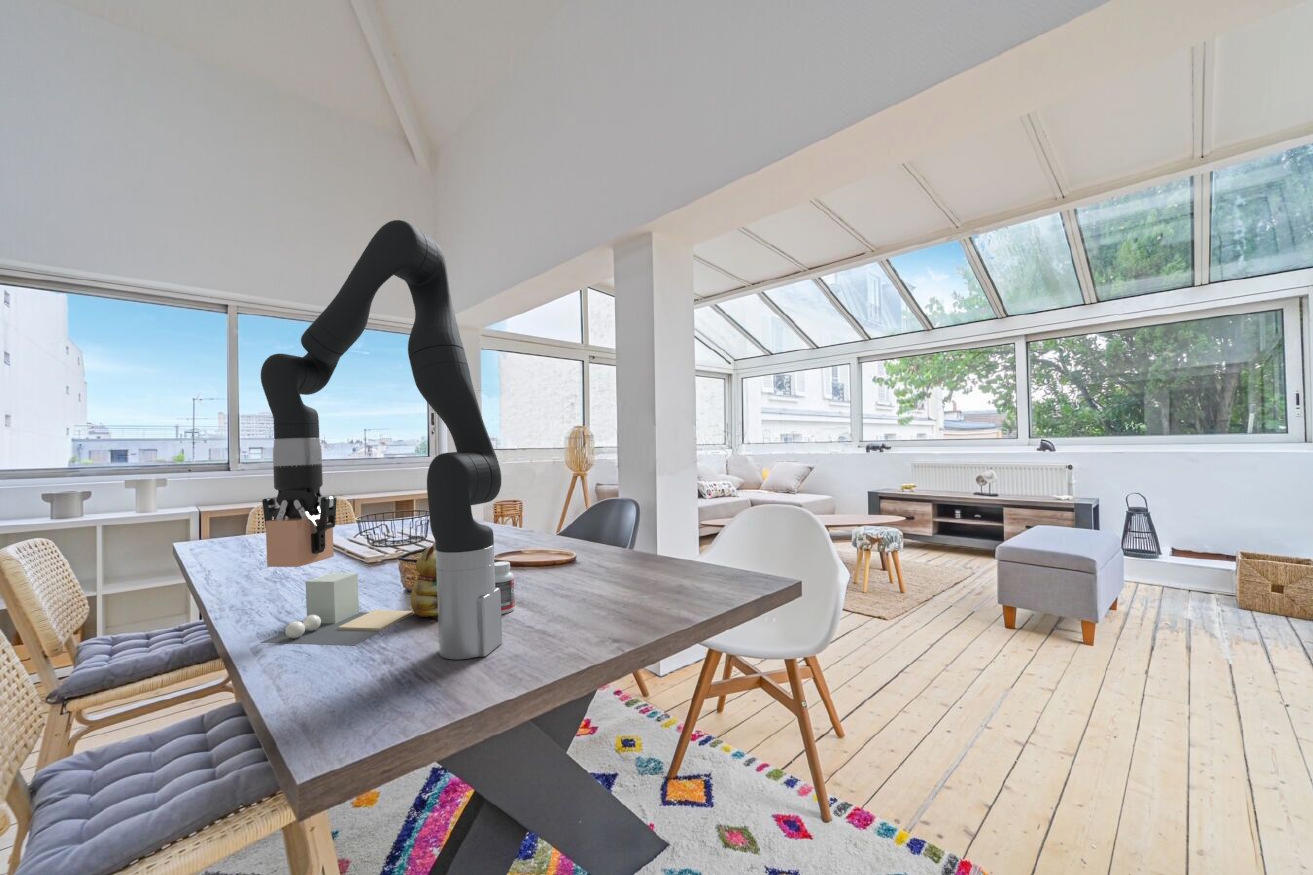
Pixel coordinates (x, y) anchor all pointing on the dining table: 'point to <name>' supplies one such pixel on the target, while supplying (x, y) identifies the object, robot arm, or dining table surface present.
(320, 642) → the mat
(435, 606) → the decorative figurine
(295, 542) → the clay brown brick
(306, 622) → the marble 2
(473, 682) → the dining table surface
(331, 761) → the dining table surface
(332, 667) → the dining table surface
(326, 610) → the pale green cube
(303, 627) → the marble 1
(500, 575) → the pill bottle
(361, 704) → the dining table surface
